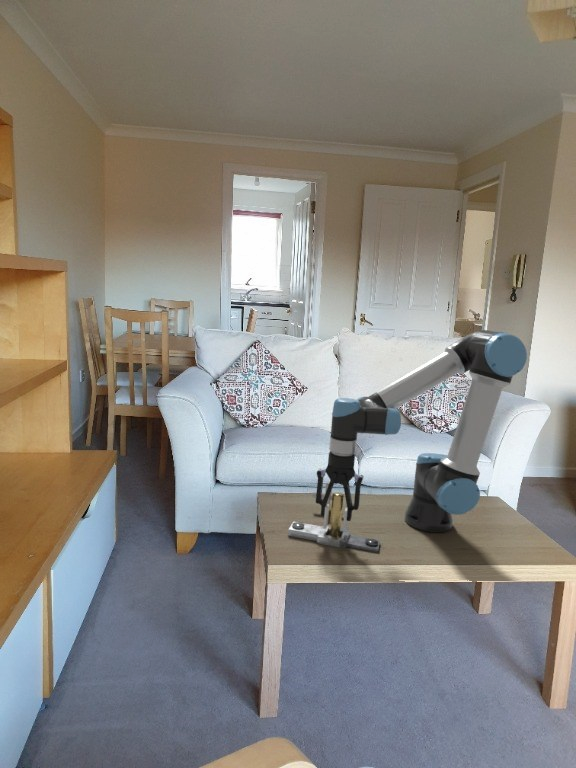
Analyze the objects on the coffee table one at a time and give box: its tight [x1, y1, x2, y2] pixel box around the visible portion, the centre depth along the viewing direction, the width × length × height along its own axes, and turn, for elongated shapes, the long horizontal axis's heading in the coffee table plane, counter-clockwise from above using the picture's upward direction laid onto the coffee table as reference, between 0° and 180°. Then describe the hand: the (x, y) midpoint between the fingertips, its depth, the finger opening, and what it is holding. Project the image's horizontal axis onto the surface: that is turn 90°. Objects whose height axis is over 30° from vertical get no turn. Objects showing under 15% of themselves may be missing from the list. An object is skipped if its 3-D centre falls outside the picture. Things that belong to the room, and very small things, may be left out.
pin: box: [328, 491, 345, 538], centre depth 154 cm, size 3×3×14 cm
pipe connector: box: [311, 481, 333, 508], centre depth 175 cm, size 10×10×10 cm
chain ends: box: [287, 521, 381, 553], centre depth 155 cm, size 26×8×3 cm, turn 75°
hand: (334, 528), depth 155 cm, fingers open, 5 cm apart
